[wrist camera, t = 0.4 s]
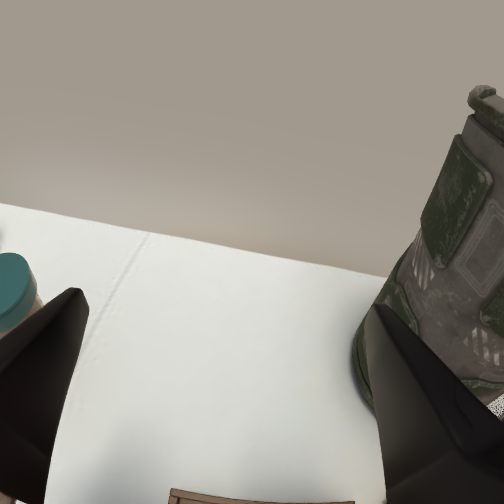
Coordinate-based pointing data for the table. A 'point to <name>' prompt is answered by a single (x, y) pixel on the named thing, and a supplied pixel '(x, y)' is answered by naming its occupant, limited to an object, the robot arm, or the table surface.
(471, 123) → the canister
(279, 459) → the table surface
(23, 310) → the lid
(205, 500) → the tray
